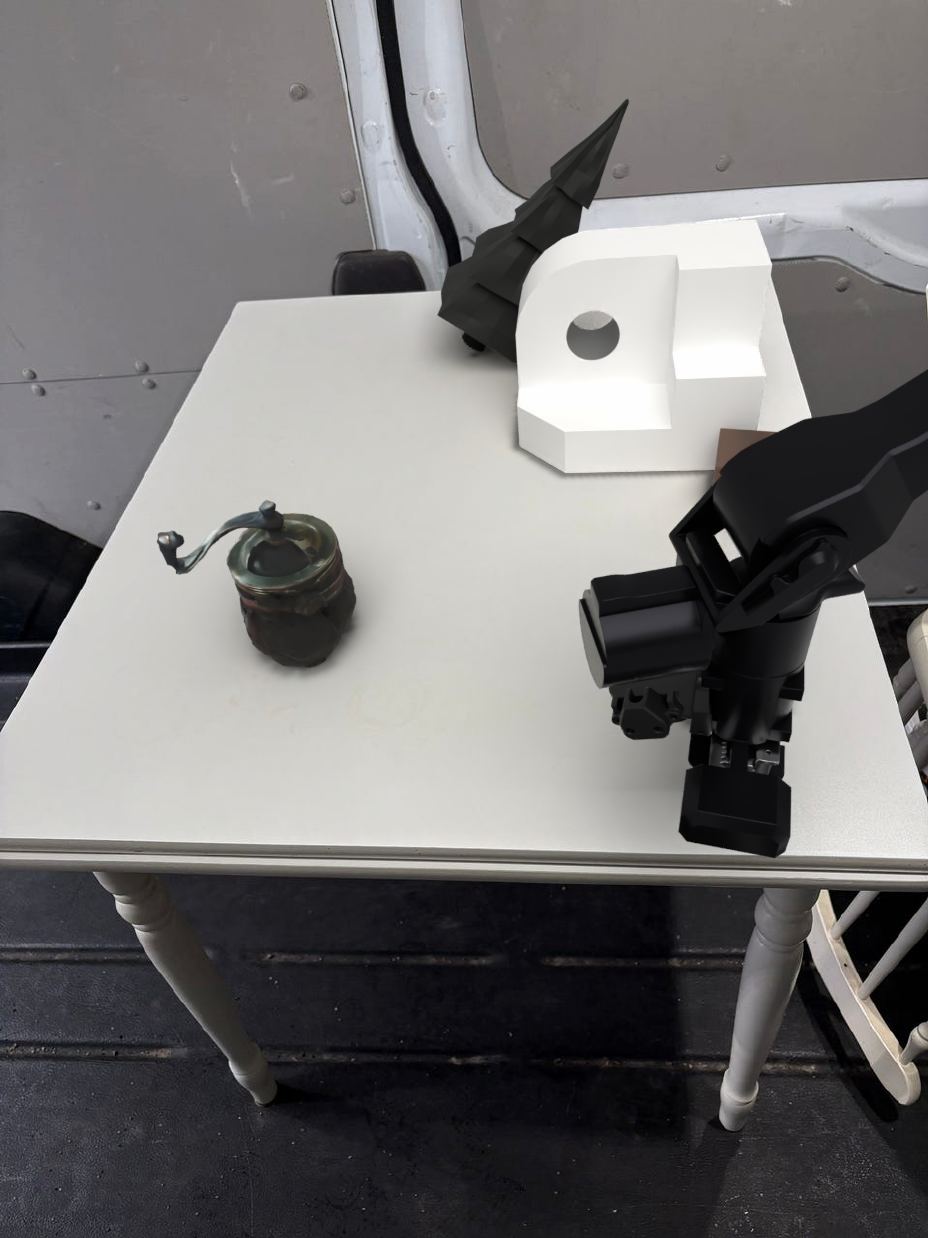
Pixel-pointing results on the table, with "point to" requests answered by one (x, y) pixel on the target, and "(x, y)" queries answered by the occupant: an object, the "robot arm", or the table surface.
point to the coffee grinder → (282, 581)
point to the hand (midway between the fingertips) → (725, 786)
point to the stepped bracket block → (642, 346)
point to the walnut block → (734, 445)
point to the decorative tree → (523, 246)
